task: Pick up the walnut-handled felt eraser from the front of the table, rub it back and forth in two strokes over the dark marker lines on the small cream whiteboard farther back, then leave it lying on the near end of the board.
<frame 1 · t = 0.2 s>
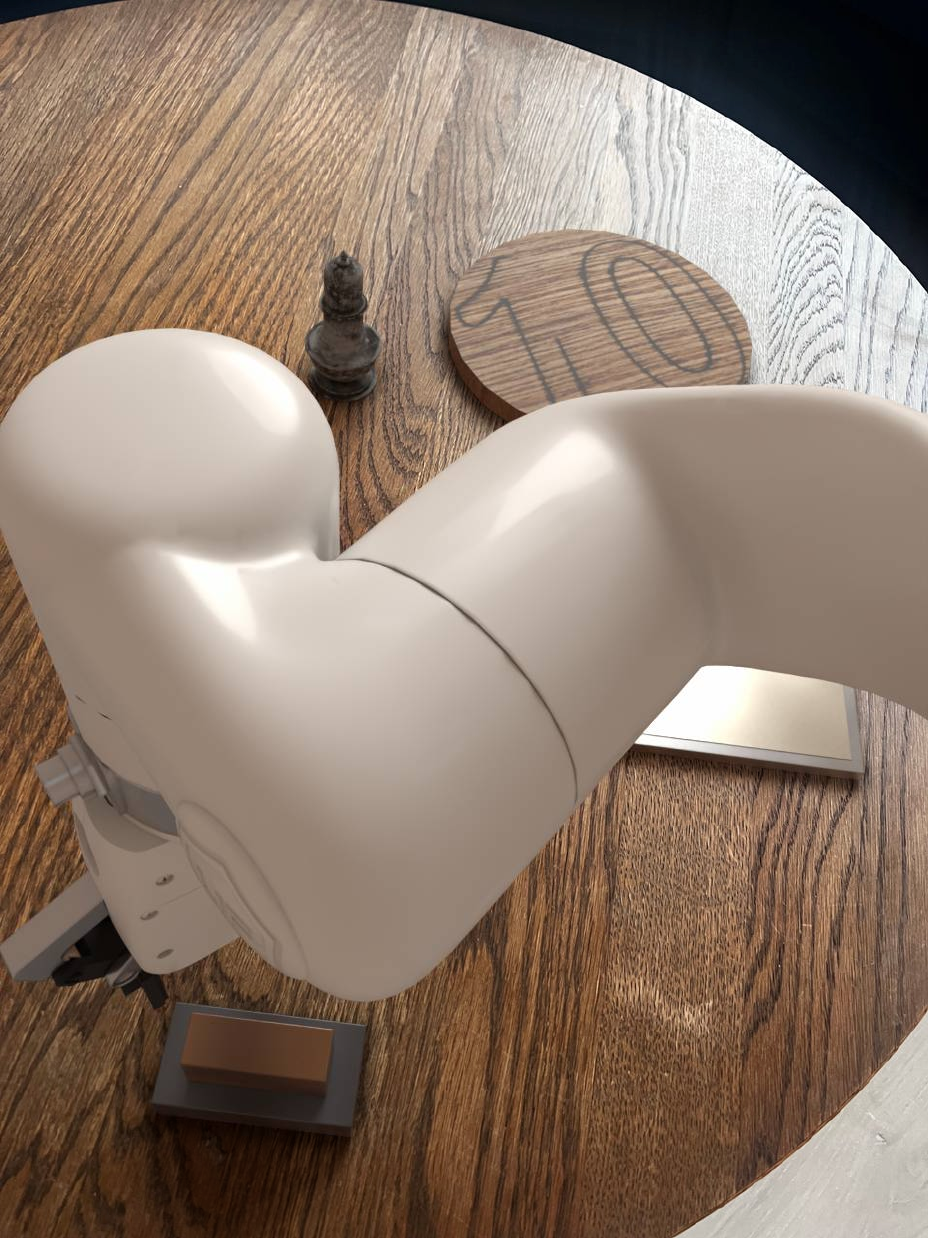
hand: (250, 911, 48), 16 cm above the table, tool pointing down, fingers open, 9 cm apart
dark chess piece: (343, 379, 89), on the table
decorative stone: (208, 479, 82), on the table
trivet: (596, 345, 94), on the table
whiteboard: (729, 636, 78), on the table
beer can: (287, 629, 75), on the table
eraser: (264, 1075, 59), on the table
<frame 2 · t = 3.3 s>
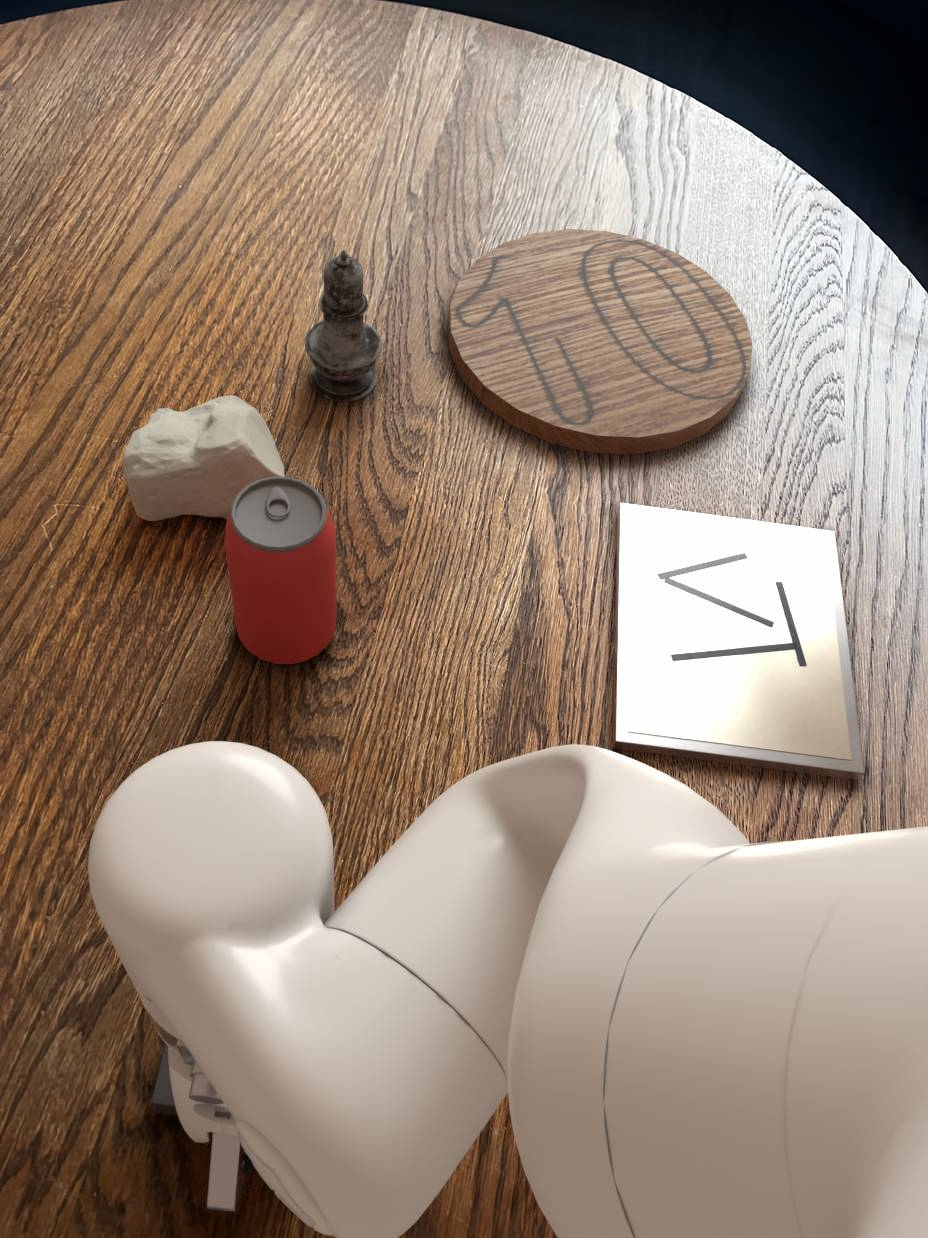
hand: (263, 1072, 59), 1 cm above the table, tool pointing down, fingers closed on eraser, 5 cm apart
eraser: (264, 1075, 59), on the table, touching gripper
everything else where it was.
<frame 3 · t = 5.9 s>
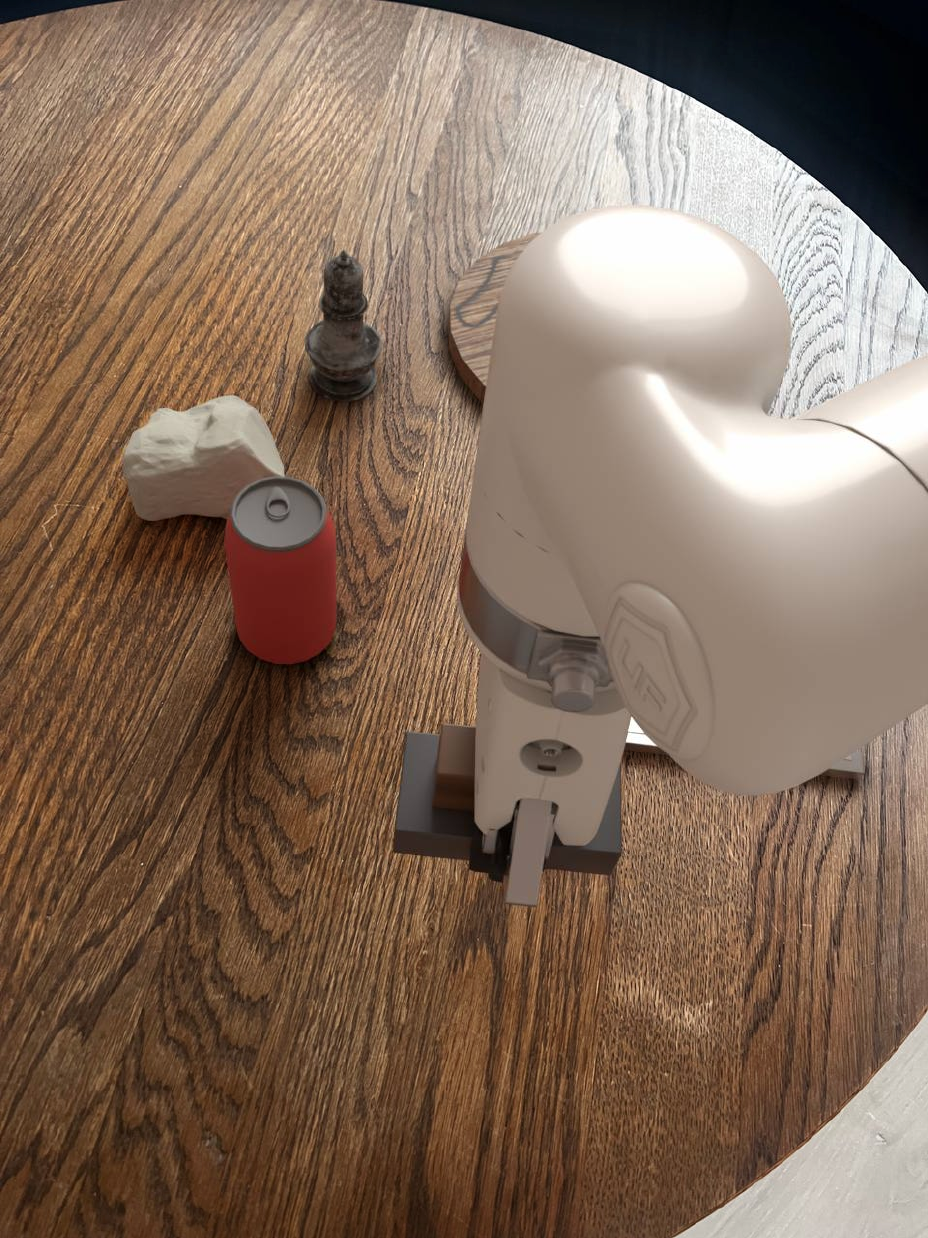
hand: (507, 808, 52), 15 cm above the table, tool pointing down, fingers closed on eraser, 5 cm apart
eraser: (504, 814, 53), point 15 cm above the table, touching gripper
everything else where it was.
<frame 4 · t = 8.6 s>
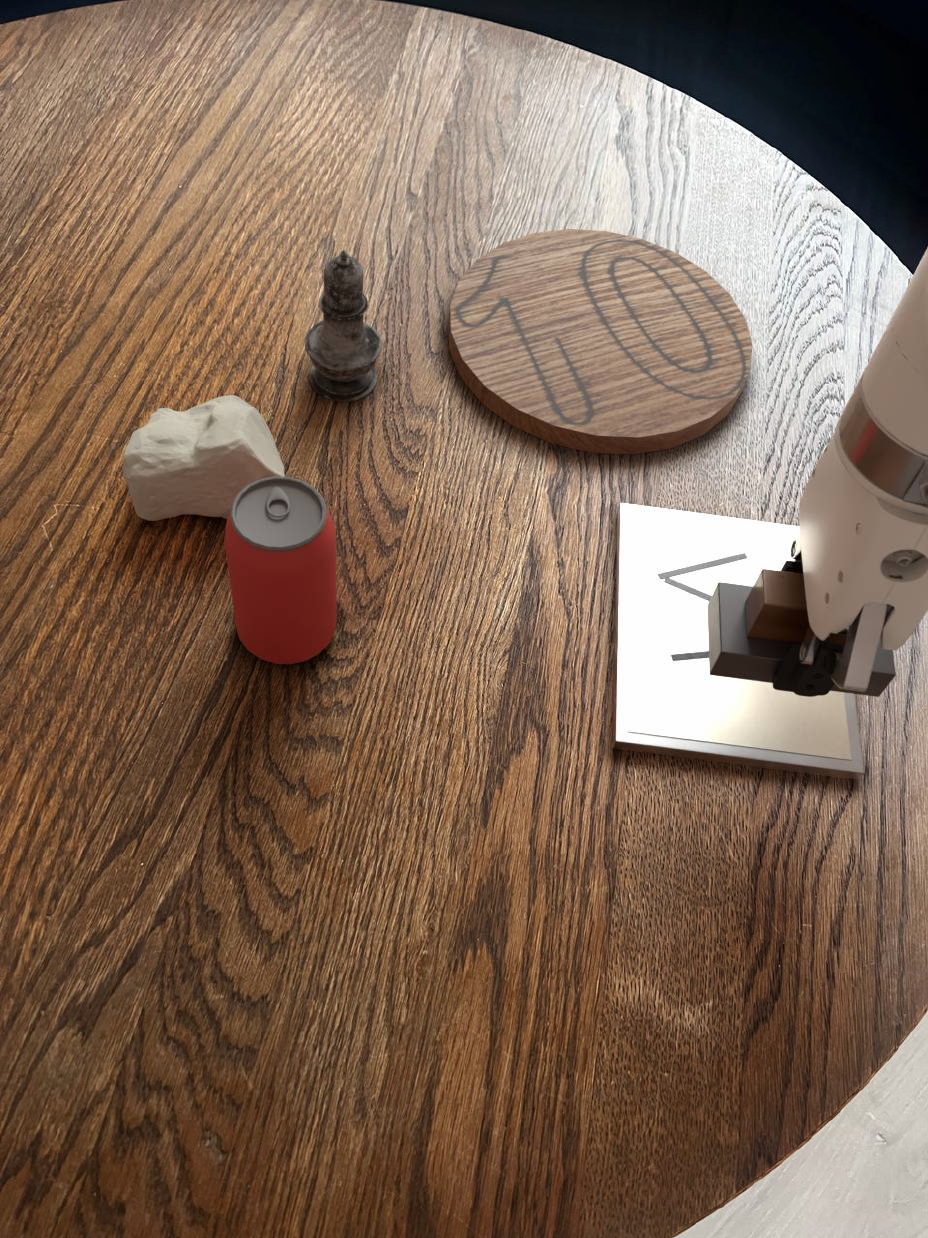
hand: (795, 645, 66), 9 cm above the table, tool pointing down, fingers closed on eraser, 5 cm apart
eraser: (791, 650, 67), point 9 cm above the table, touching gripper
everything else where it was.
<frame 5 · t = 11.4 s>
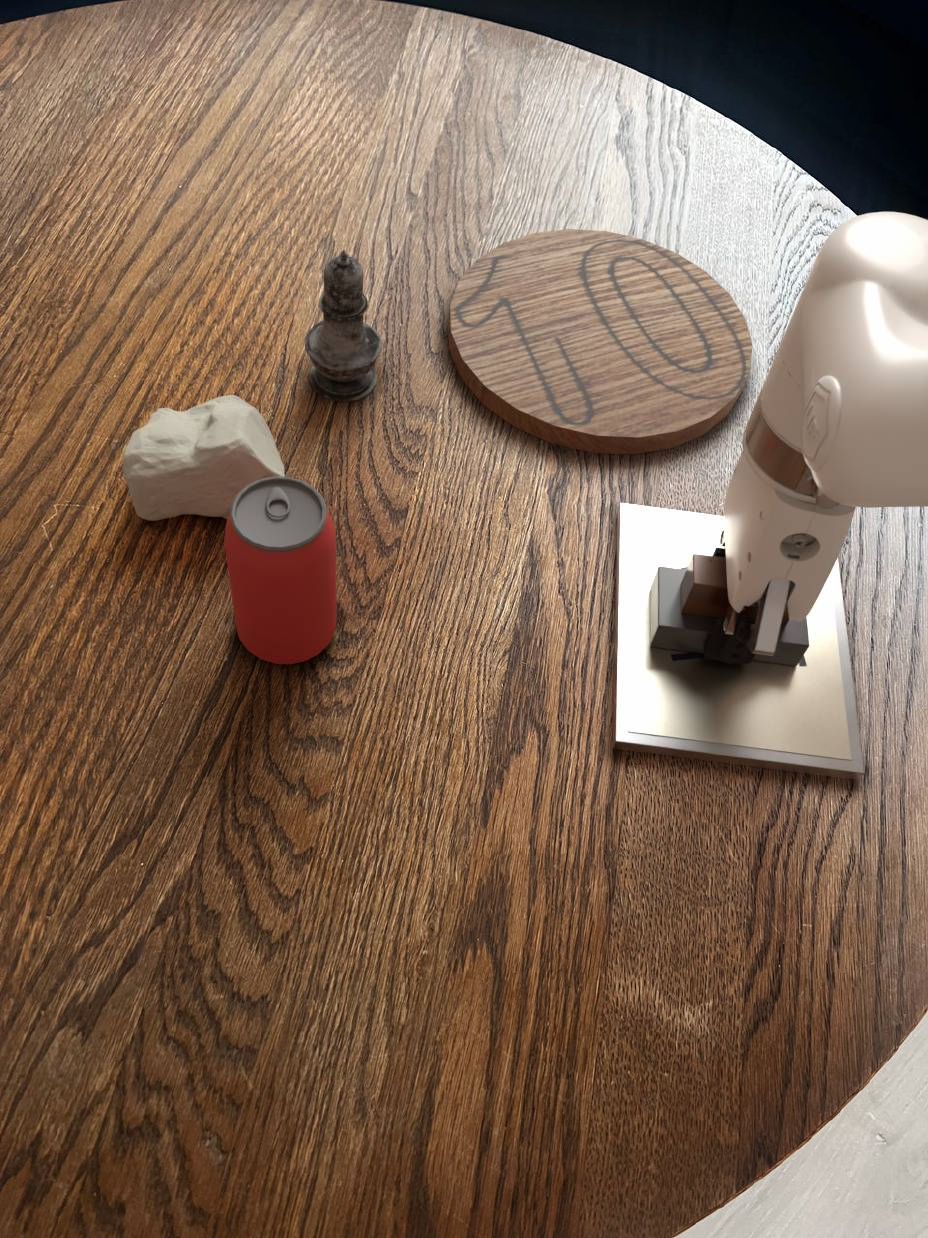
hand: (725, 621, 76), 2 cm above the table, tool pointing down, fingers closed on eraser, 5 cm apart
eraser: (722, 626, 77), point 1 cm above the table, touching gripper
everything else where it was.
when the fingers open (2 cm above the table, at t = 13.8 s): eraser stays where it is, resting on whiteboard.
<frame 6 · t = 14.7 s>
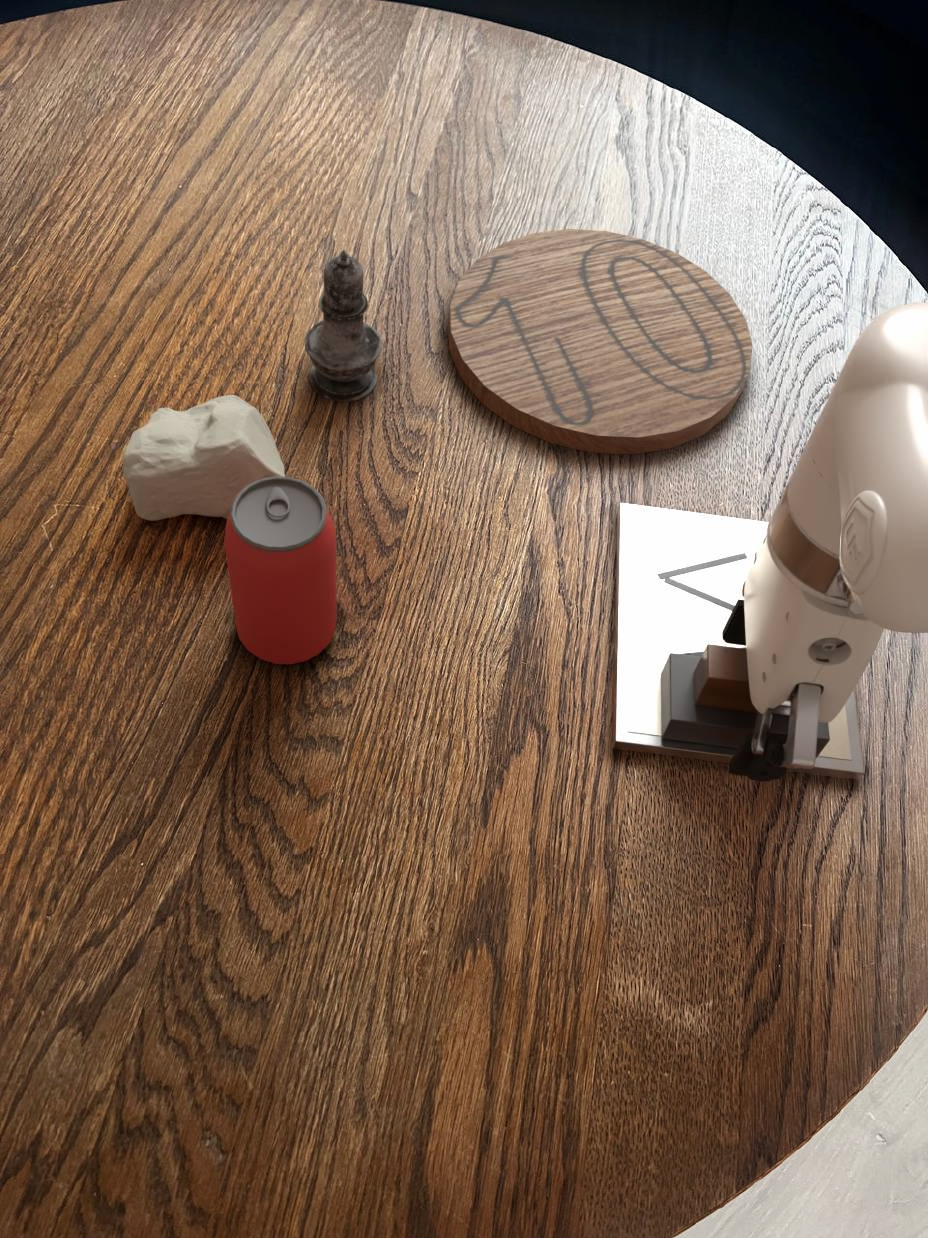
hand: (748, 704, 71), 3 cm above the table, tool pointing down, fingers open, 9 cm apart
eraser: (737, 715, 73), point 1 cm above the table, touching whiteboard
everything else where it was.
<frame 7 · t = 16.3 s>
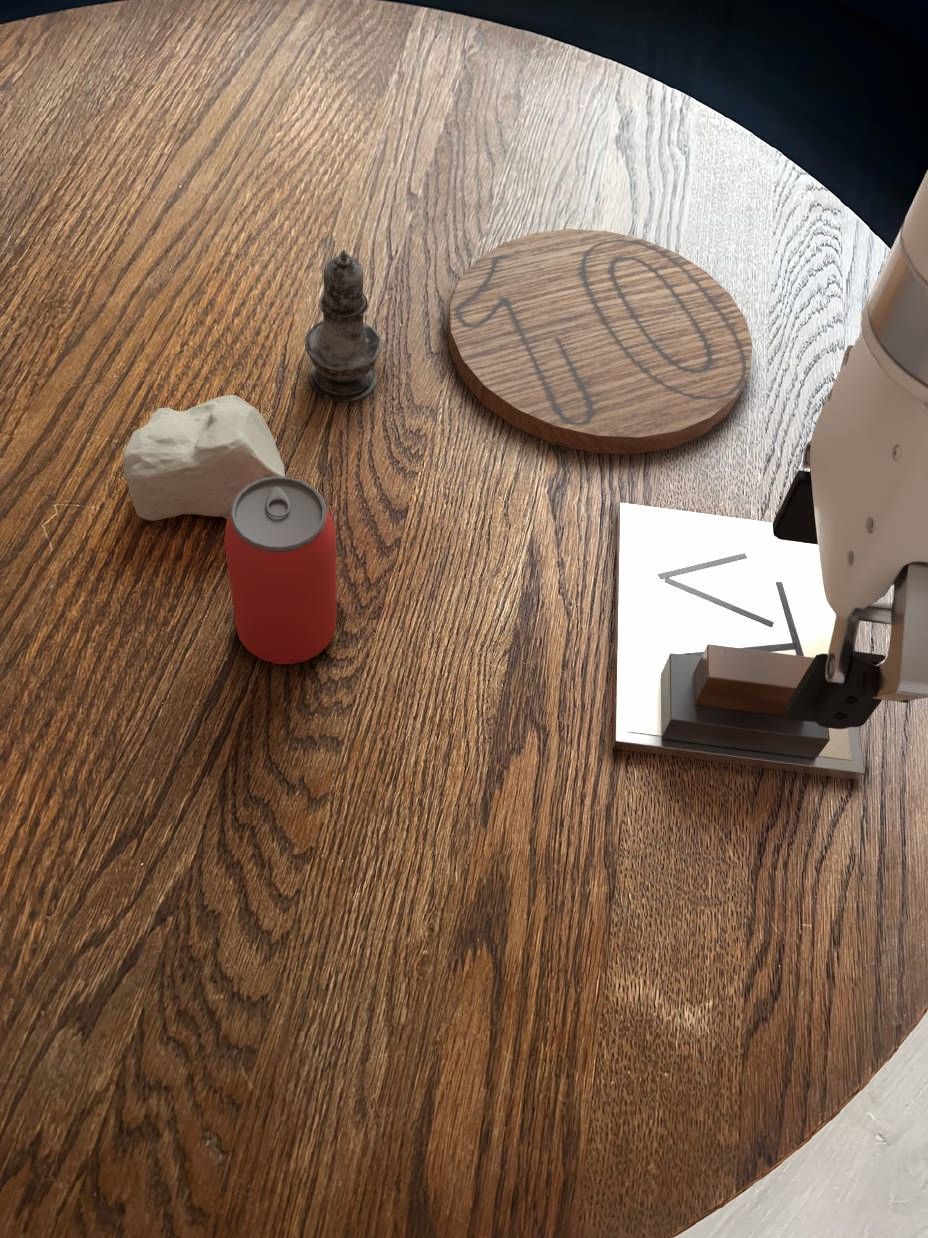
hand: (812, 622, 50), 24 cm above the table, tool pointing down, fingers open, 9 cm apart
nothing on the table moved.
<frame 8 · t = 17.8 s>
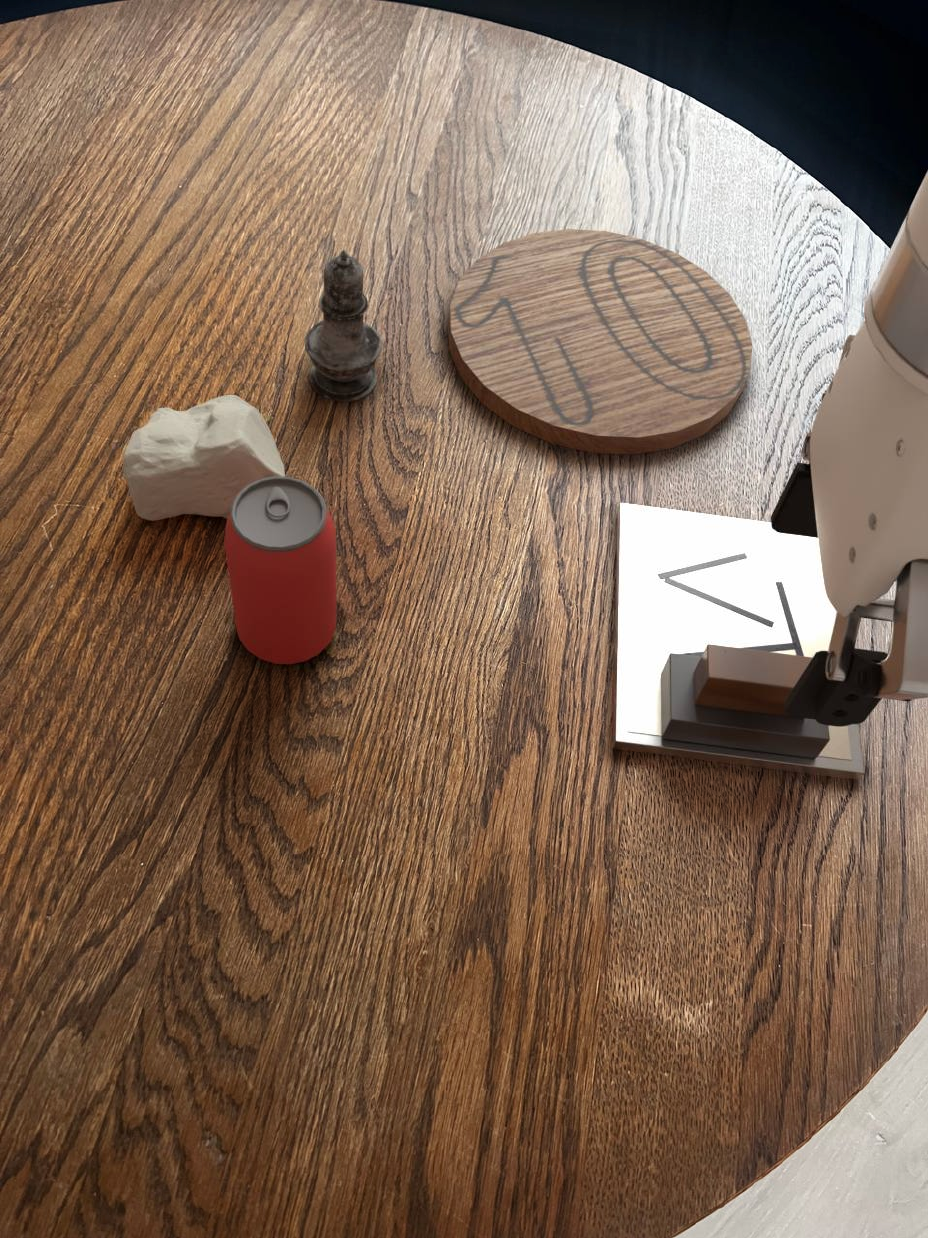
hand: (812, 617, 49), 24 cm above the table, tool pointing down, fingers open, 9 cm apart
nothing on the table moved.
at the end: eraser inside the target area on the whiteboard (0.4 cm from its centre), point 1.1 cm above the whiteboard's base; eraser moved 36.1 cm from its start; the gripper is holding nothing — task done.
